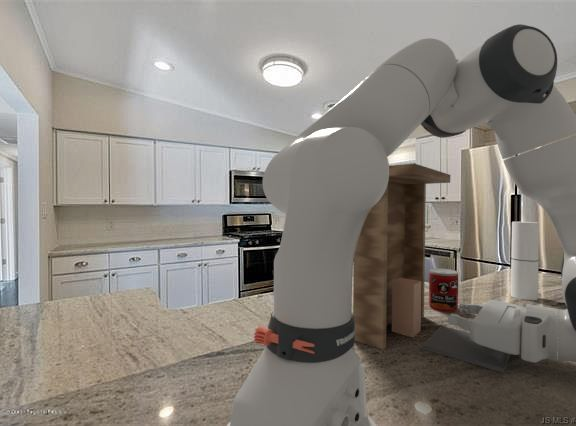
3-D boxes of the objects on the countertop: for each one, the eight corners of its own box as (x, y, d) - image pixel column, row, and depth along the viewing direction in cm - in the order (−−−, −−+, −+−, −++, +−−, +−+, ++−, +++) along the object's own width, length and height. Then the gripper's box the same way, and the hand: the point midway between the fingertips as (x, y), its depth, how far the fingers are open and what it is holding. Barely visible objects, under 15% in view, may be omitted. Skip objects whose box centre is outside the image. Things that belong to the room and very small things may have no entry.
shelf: (448, 322, 79) (450, 174, 78) (412, 359, 60) (414, 163, 59) (398, 310, 88) (400, 177, 87) (352, 339, 68) (354, 168, 68)
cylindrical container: (505, 295, 104) (507, 221, 104) (518, 293, 107) (519, 221, 107) (529, 301, 98) (531, 222, 97) (542, 298, 101) (543, 222, 100)
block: (420, 330, 74) (421, 281, 73) (413, 337, 70) (413, 285, 70) (399, 325, 77) (400, 277, 77) (391, 331, 73) (392, 281, 73)
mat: (512, 346, 65) (512, 342, 65) (503, 372, 55) (504, 368, 55) (441, 329, 75) (441, 325, 75) (422, 348, 64) (422, 345, 64)
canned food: (428, 309, 89) (428, 272, 89) (429, 302, 96) (430, 267, 96) (458, 314, 85) (458, 274, 85) (457, 306, 92) (458, 269, 92)
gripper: (540, 300, 65) (465, 288, 74) (534, 328, 49) (441, 309, 59) (539, 330, 65) (465, 314, 74) (533, 367, 50) (441, 341, 59)
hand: (454, 312), depth 66 cm, fingers open, 8 cm apart
